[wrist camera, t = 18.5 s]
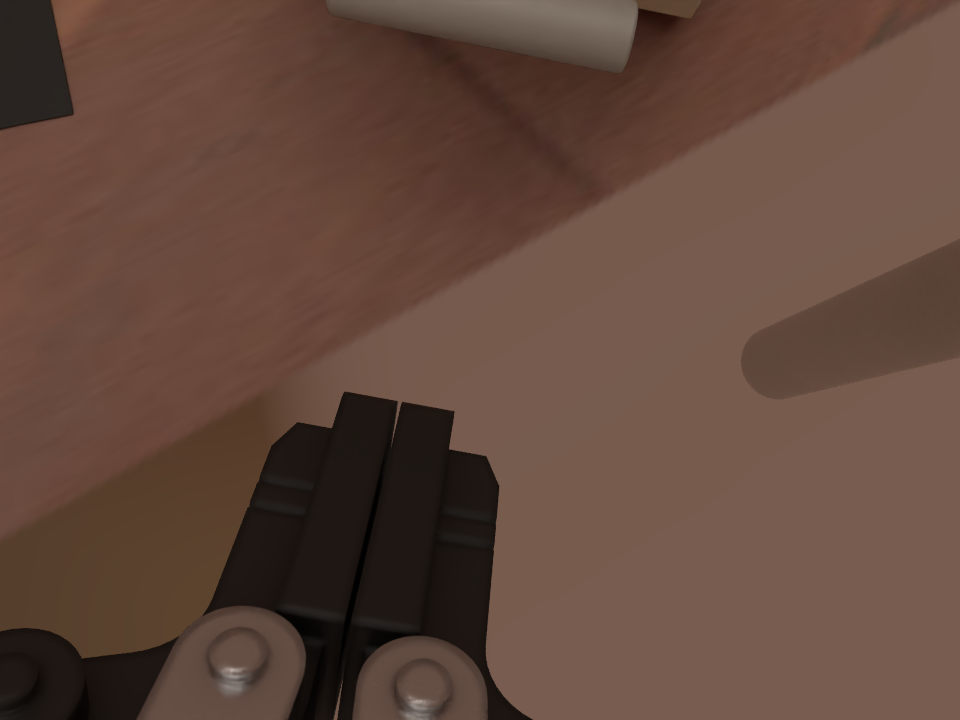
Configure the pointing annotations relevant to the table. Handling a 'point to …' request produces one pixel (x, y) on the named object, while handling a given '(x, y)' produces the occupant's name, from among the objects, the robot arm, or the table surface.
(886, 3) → the table surface
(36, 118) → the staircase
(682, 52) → the table surface
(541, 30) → the drawer
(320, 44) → the table surface
